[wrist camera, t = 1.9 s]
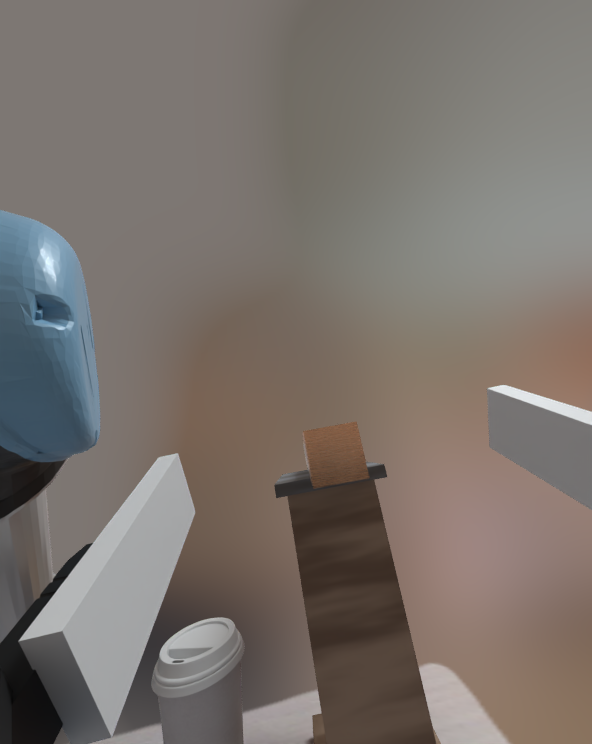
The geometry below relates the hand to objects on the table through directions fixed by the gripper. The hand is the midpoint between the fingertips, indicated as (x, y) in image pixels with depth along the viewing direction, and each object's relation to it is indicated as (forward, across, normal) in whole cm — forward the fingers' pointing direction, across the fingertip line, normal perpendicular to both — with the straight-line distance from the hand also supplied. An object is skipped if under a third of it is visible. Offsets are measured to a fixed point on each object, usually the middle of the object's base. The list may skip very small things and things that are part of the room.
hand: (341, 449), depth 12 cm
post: (+7, 0, -40) cm, 41 cm away
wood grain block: (+17, +1, -12) cm, 21 cm away
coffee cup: (+8, -17, -41) cm, 45 cm away
